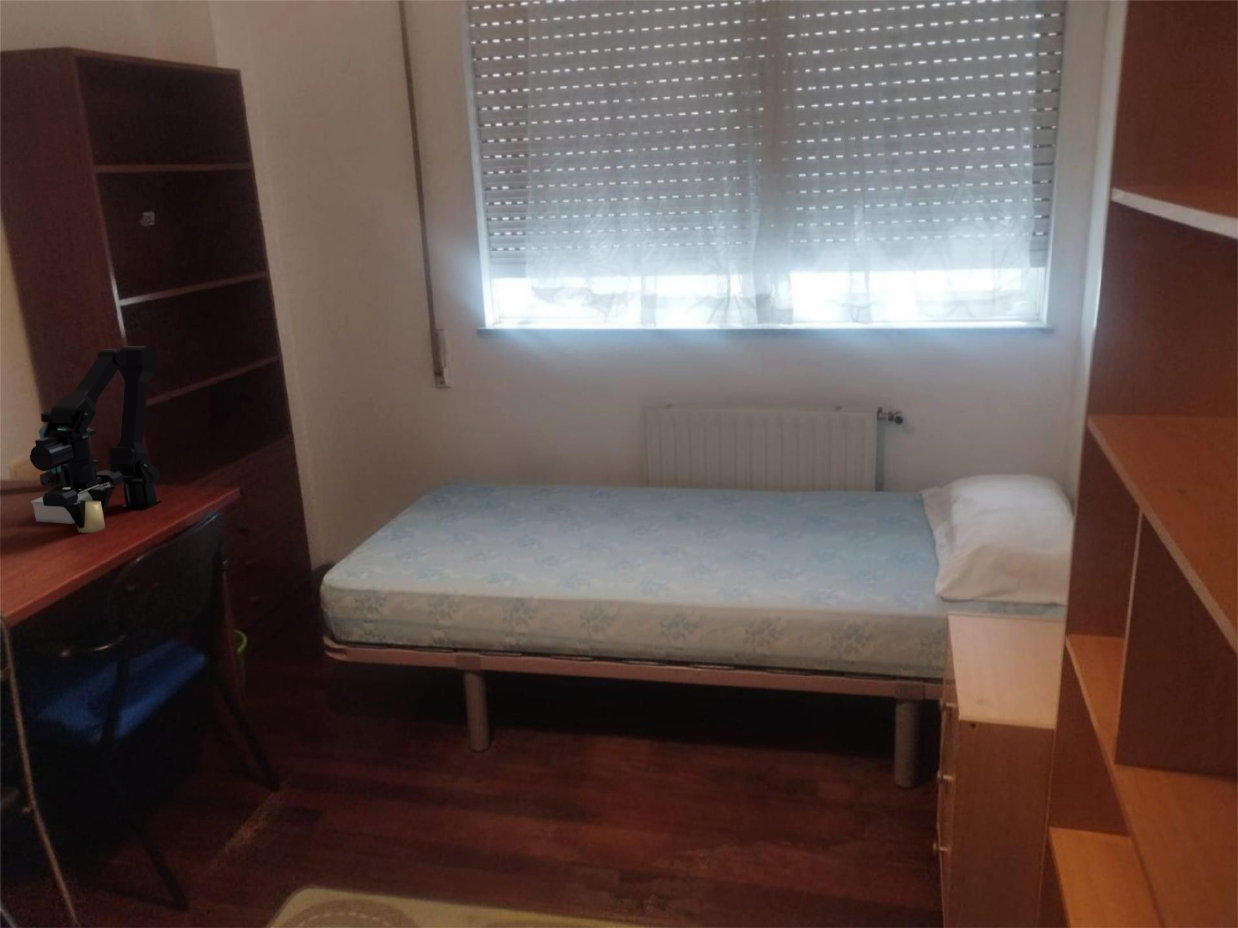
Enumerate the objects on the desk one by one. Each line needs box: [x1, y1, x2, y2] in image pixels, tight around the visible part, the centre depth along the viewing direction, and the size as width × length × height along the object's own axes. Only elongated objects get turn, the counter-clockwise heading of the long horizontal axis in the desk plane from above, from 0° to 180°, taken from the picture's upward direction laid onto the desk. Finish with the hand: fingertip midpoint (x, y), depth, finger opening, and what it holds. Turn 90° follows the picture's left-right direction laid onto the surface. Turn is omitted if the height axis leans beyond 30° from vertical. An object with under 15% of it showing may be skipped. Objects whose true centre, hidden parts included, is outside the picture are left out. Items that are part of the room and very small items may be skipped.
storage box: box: [32, 497, 92, 525], centre depth 229 cm, size 10×10×4 cm
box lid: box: [30, 487, 91, 505], centre depth 229 cm, size 10×11×1 cm
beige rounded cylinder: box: [76, 500, 106, 534], centre depth 220 cm, size 6×6×6 cm
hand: (90, 523), depth 220 cm, fingers closed on beige rounded cylinder, 5 cm apart
